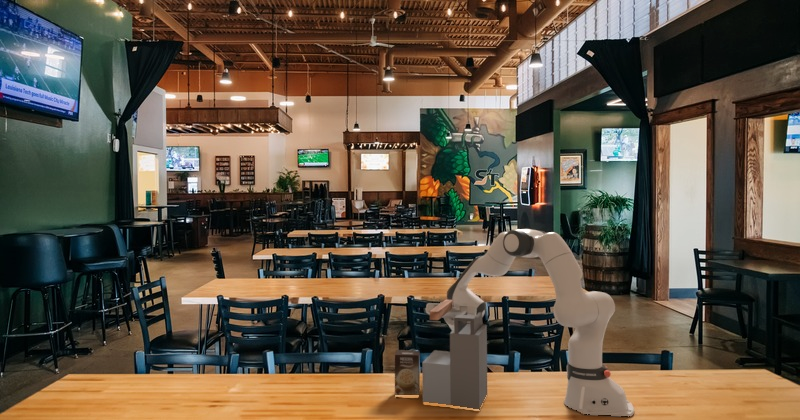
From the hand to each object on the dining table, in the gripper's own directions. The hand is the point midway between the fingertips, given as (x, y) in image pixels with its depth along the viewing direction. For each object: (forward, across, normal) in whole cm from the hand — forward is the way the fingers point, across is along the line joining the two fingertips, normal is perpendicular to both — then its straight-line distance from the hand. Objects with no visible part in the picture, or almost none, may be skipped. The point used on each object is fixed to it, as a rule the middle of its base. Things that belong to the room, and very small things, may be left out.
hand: (447, 304), depth 200 cm
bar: (+6, 0, +6) cm, 8 cm away
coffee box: (-4, -12, +35) cm, 37 cm away
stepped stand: (-4, +6, +34) cm, 35 cm away
